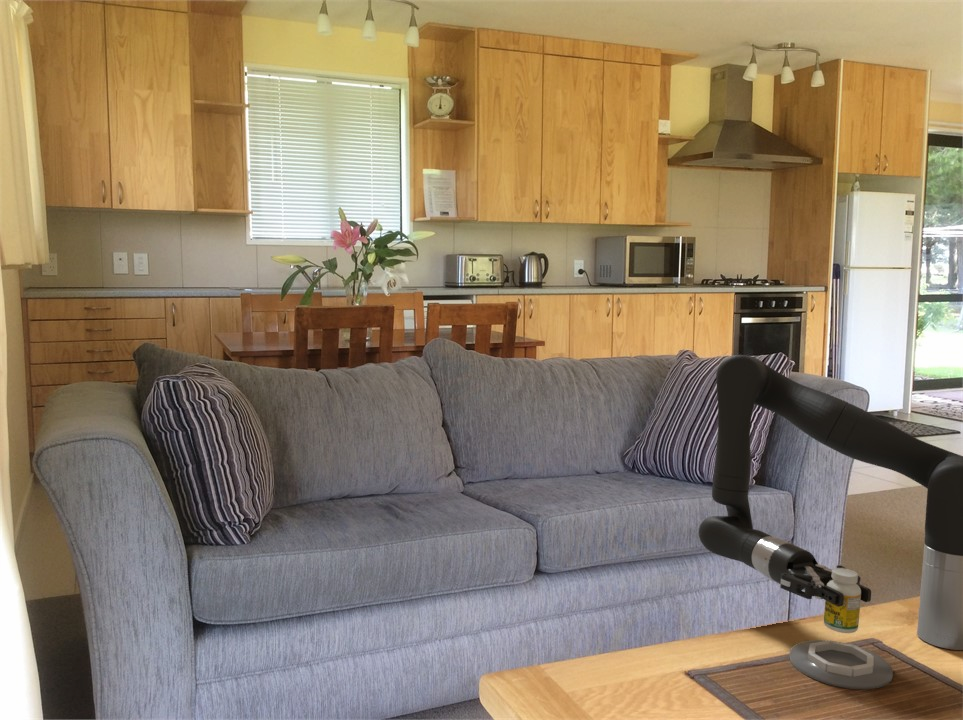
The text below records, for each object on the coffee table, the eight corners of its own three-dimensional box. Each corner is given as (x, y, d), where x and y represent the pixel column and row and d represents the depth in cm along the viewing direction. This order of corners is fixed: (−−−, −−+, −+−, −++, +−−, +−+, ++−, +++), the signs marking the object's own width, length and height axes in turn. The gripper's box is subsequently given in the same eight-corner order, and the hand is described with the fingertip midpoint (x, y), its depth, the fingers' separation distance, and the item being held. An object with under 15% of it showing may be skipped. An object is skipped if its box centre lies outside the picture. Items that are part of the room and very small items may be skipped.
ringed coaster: (793, 637, 153) (794, 627, 153) (891, 656, 146) (892, 645, 146) (785, 675, 139) (786, 664, 138) (893, 698, 132) (894, 686, 132)
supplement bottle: (865, 632, 140) (870, 576, 139) (838, 635, 139) (843, 579, 137) (842, 618, 145) (847, 565, 144) (816, 621, 144) (820, 567, 142)
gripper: (753, 546, 151) (824, 581, 136) (815, 538, 157) (890, 571, 141) (750, 586, 152) (820, 626, 137) (812, 577, 157) (886, 614, 142)
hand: (855, 598), depth 139 cm, fingers closed on supplement bottle, 5 cm apart
